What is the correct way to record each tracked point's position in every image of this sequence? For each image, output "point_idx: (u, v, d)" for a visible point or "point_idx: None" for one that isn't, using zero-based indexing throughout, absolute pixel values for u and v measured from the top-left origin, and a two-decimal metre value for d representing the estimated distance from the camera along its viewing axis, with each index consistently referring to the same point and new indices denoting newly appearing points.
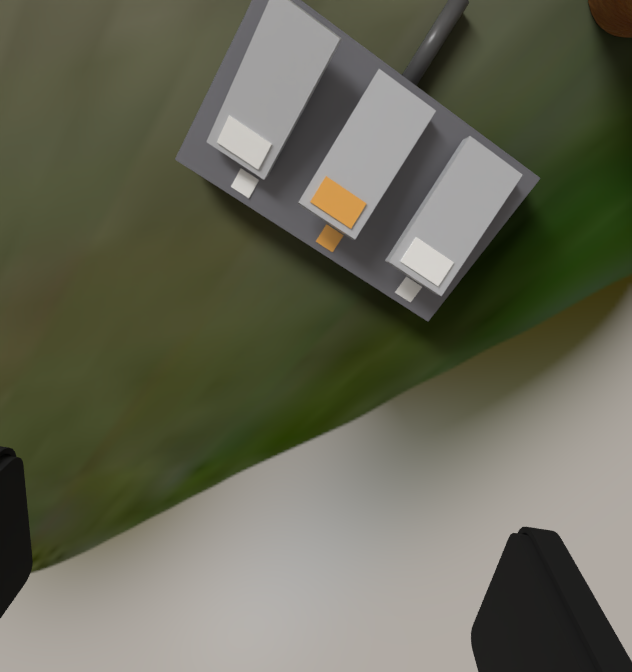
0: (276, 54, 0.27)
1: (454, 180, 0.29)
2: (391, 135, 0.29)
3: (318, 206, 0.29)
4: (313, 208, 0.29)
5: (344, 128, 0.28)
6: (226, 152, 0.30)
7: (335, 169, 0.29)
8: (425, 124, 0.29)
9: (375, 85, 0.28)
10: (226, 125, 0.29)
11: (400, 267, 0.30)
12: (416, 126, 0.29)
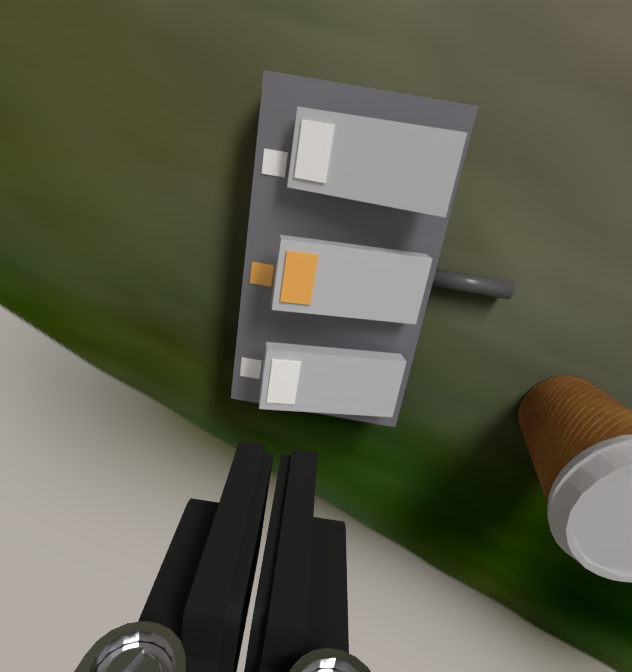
0: (410, 156, 0.25)
1: (364, 368, 0.30)
2: (380, 296, 0.28)
3: (286, 260, 0.27)
4: (282, 256, 0.27)
5: (369, 251, 0.27)
6: (296, 134, 0.26)
7: (328, 260, 0.27)
8: (401, 321, 0.29)
9: (417, 262, 0.28)
10: (323, 124, 0.25)
11: (266, 362, 0.29)
12: (396, 314, 0.29)
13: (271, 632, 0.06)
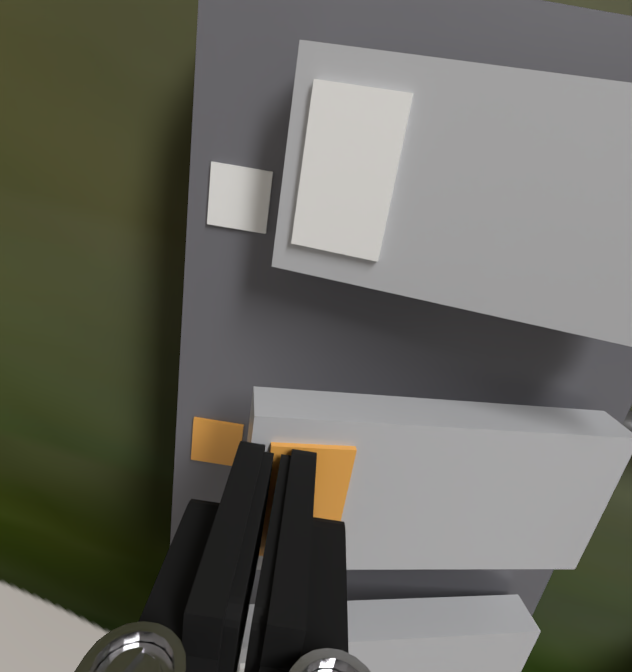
0: None
1: (450, 652, 0.13)
2: (503, 524, 0.12)
3: None
4: None
5: (487, 432, 0.10)
6: (296, 123, 0.09)
7: (381, 458, 0.10)
8: (542, 565, 0.12)
9: (602, 448, 0.11)
10: (378, 95, 0.08)
11: None
12: (534, 555, 0.12)
13: (271, 632, 0.06)
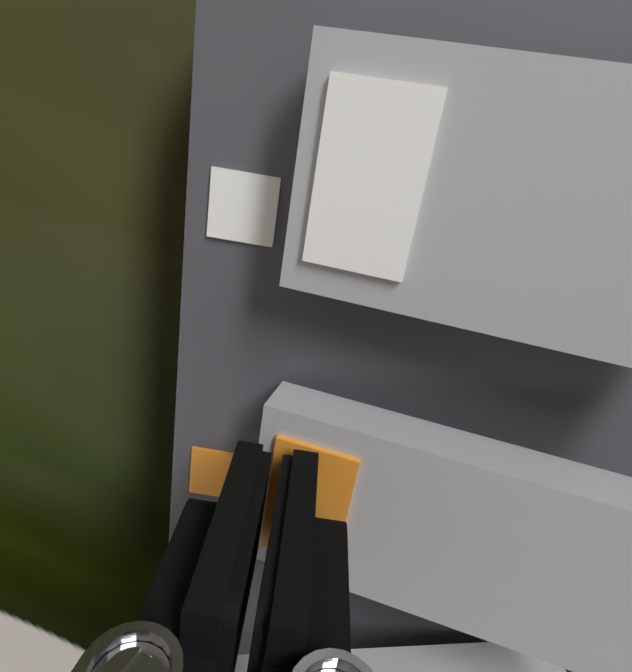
0: None
1: None
2: (539, 602, 0.10)
3: (275, 459, 0.10)
4: (266, 446, 0.10)
5: (516, 480, 0.09)
6: (309, 123, 0.08)
7: (389, 479, 0.10)
8: None
9: None
10: (405, 89, 0.07)
11: None
12: (585, 657, 0.10)
13: (274, 632, 0.06)
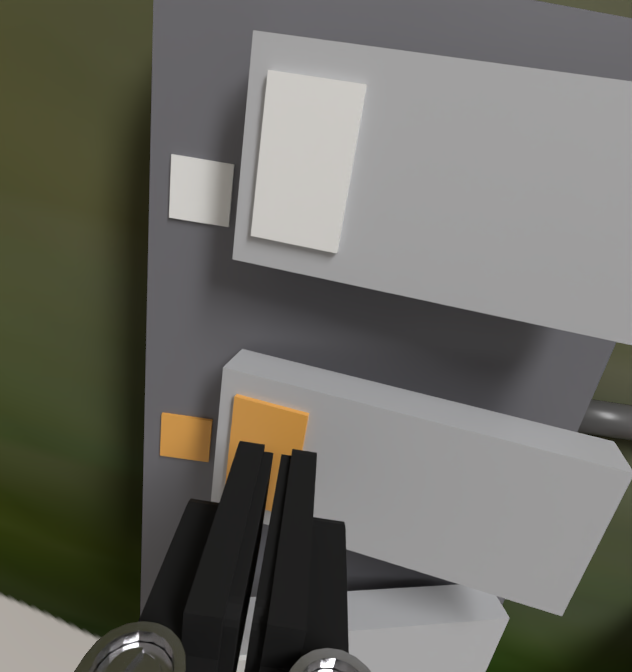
0: (602, 183, 0.08)
1: (421, 641, 0.14)
2: (466, 535, 0.11)
3: (234, 416, 0.11)
4: (227, 405, 0.11)
5: (441, 426, 0.10)
6: (252, 115, 0.09)
7: (334, 431, 0.11)
8: (519, 598, 0.11)
9: (584, 475, 0.10)
10: (332, 86, 0.08)
11: None
12: (507, 582, 0.11)
13: (271, 632, 0.06)
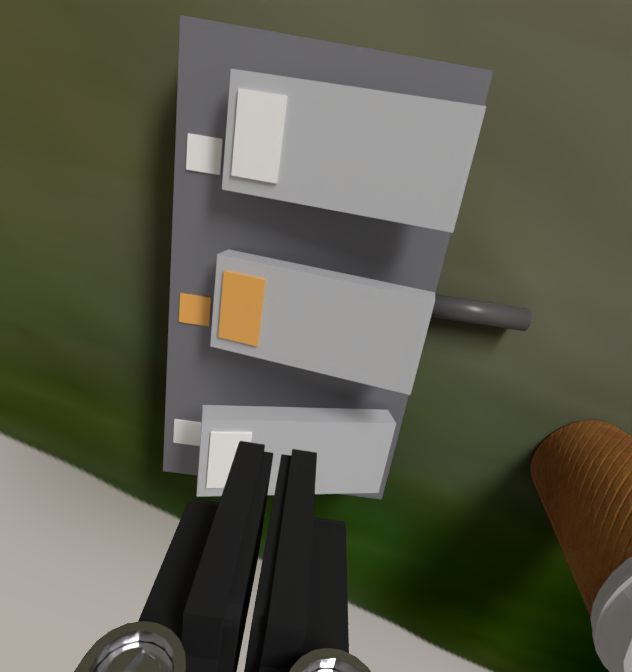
0: (400, 144, 0.17)
1: (340, 435, 0.22)
2: (355, 348, 0.20)
3: (224, 284, 0.20)
4: (219, 277, 0.20)
5: (337, 281, 0.19)
6: (231, 111, 0.17)
7: (280, 289, 0.19)
8: (387, 387, 0.20)
9: (411, 304, 0.18)
10: (270, 96, 0.17)
11: (203, 436, 0.21)
12: (380, 376, 0.20)
13: (271, 632, 0.06)
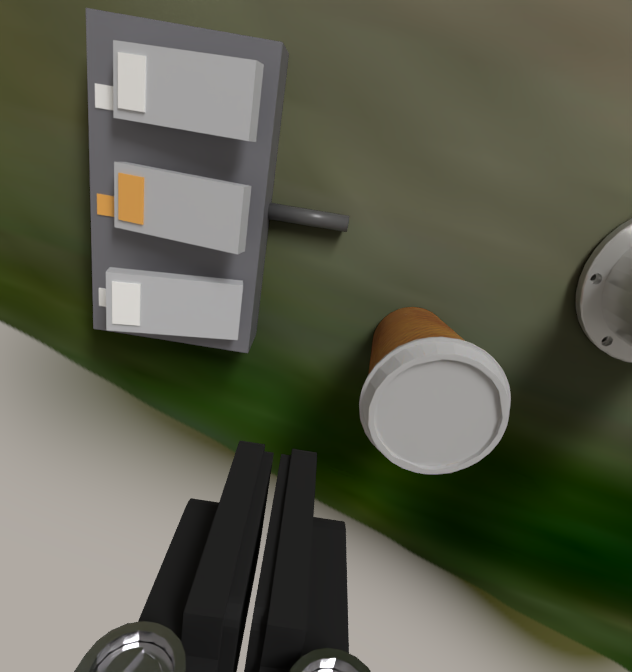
0: (212, 84, 0.27)
1: (203, 291, 0.33)
2: (201, 222, 0.30)
3: (119, 182, 0.31)
4: (116, 178, 0.31)
5: (186, 177, 0.29)
6: (115, 66, 0.28)
7: (153, 184, 0.30)
8: (223, 249, 0.30)
9: (230, 190, 0.29)
10: (137, 56, 0.28)
11: (107, 284, 0.31)
12: (218, 242, 0.30)
13: (271, 632, 0.06)
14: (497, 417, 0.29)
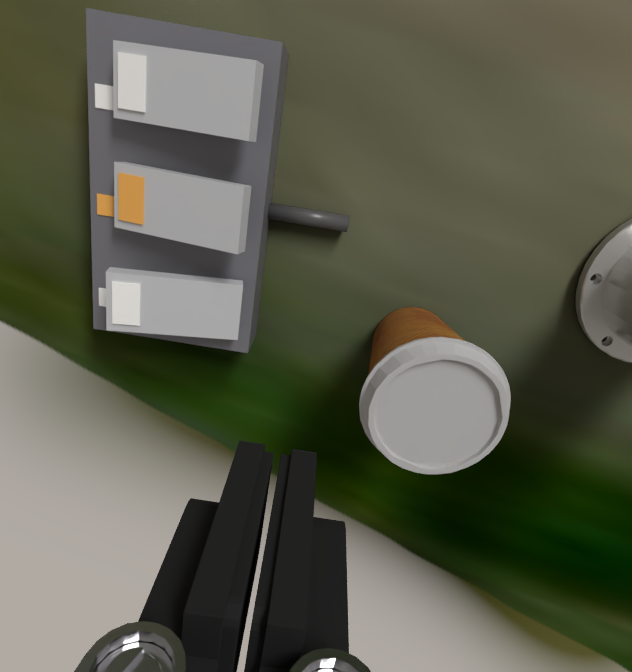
0: (212, 84, 0.27)
1: (203, 291, 0.33)
2: (201, 222, 0.30)
3: (119, 182, 0.31)
4: (116, 178, 0.31)
5: (186, 177, 0.29)
6: (115, 66, 0.28)
7: (153, 184, 0.30)
8: (223, 249, 0.30)
9: (230, 190, 0.29)
10: (137, 56, 0.28)
11: (107, 284, 0.31)
12: (218, 242, 0.30)
13: (271, 632, 0.06)
14: (497, 417, 0.29)
